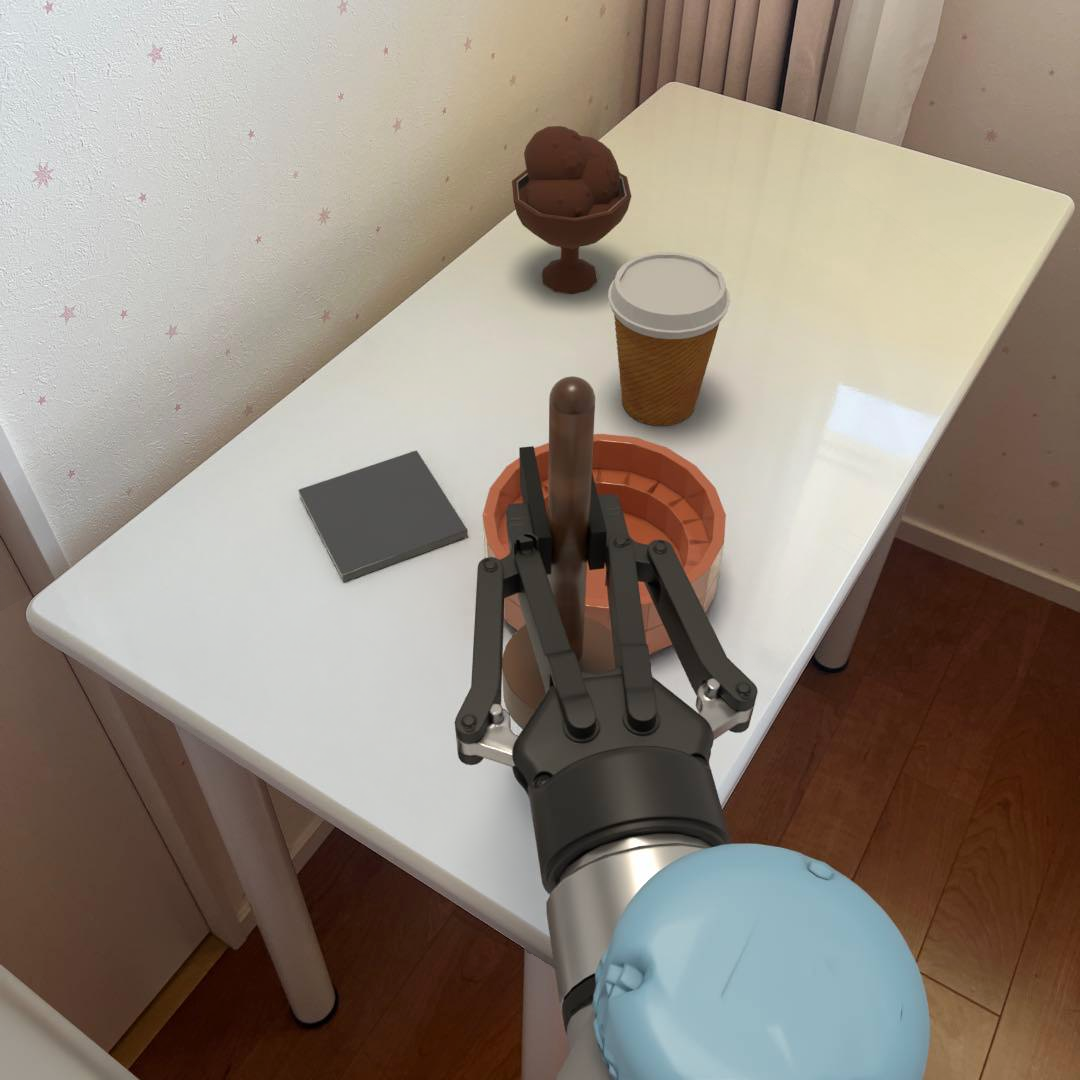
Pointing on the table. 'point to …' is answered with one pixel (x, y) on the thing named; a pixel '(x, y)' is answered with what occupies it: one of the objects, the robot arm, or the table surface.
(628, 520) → the terracotta round bowl
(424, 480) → the dark grey square tile
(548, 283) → the ice cream bowl
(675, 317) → the disposable coffee cup
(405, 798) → the table surface
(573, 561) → the paper towel holder
